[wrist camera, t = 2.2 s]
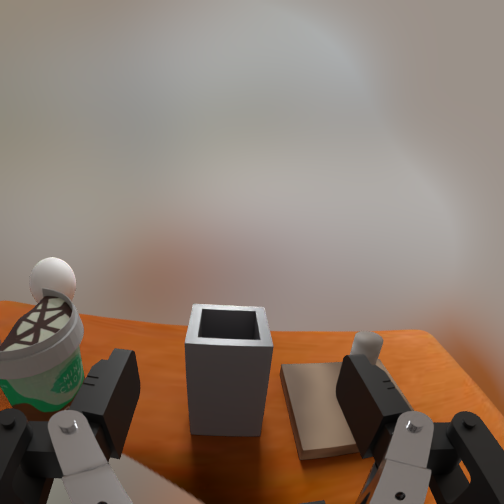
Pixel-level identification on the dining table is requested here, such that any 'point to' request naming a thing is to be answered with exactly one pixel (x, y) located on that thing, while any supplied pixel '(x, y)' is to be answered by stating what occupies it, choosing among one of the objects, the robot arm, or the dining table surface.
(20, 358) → the food container
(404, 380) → the dining table surface
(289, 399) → the post stand
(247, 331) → the sleeve
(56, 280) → the lightbulb
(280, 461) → the dining table surface
